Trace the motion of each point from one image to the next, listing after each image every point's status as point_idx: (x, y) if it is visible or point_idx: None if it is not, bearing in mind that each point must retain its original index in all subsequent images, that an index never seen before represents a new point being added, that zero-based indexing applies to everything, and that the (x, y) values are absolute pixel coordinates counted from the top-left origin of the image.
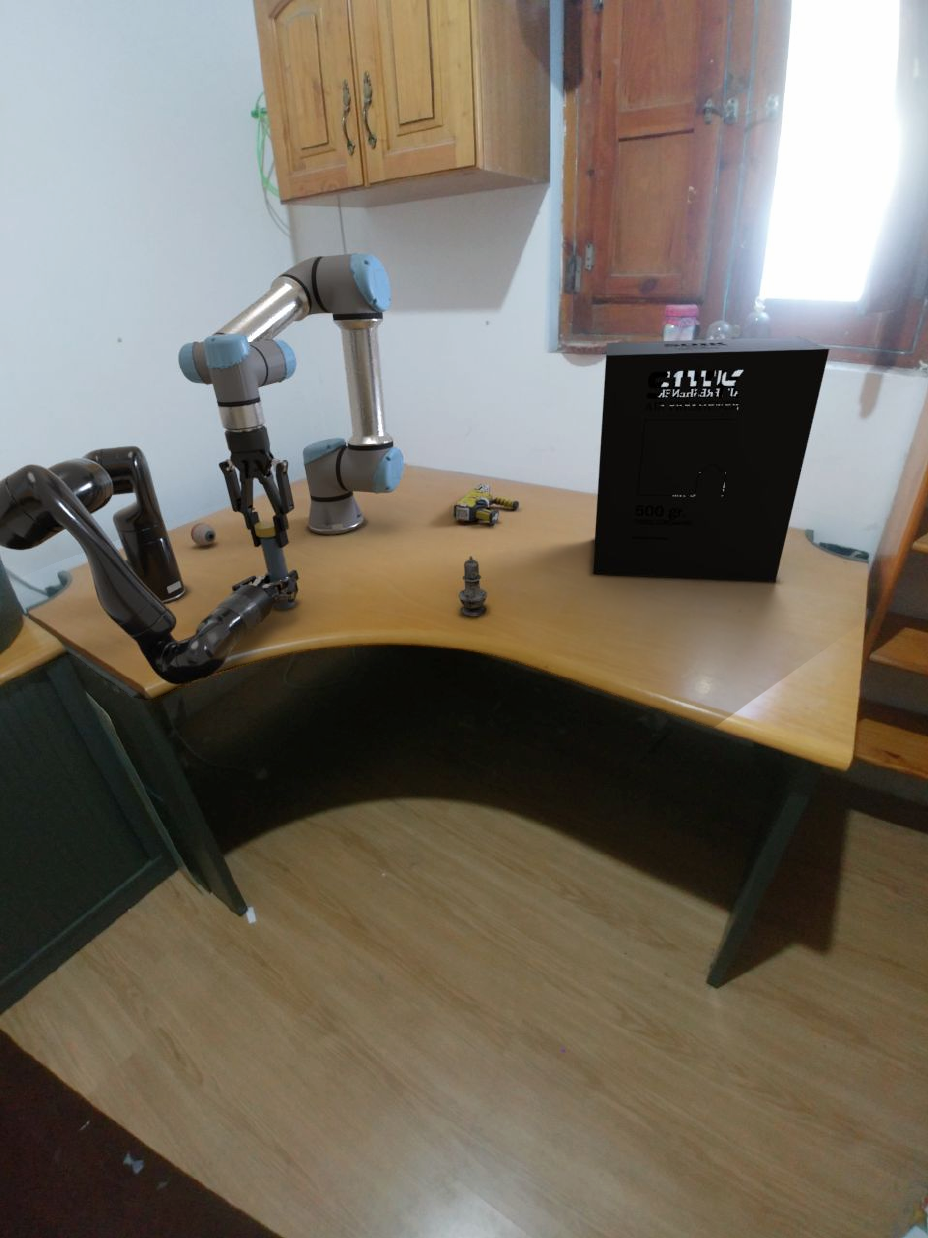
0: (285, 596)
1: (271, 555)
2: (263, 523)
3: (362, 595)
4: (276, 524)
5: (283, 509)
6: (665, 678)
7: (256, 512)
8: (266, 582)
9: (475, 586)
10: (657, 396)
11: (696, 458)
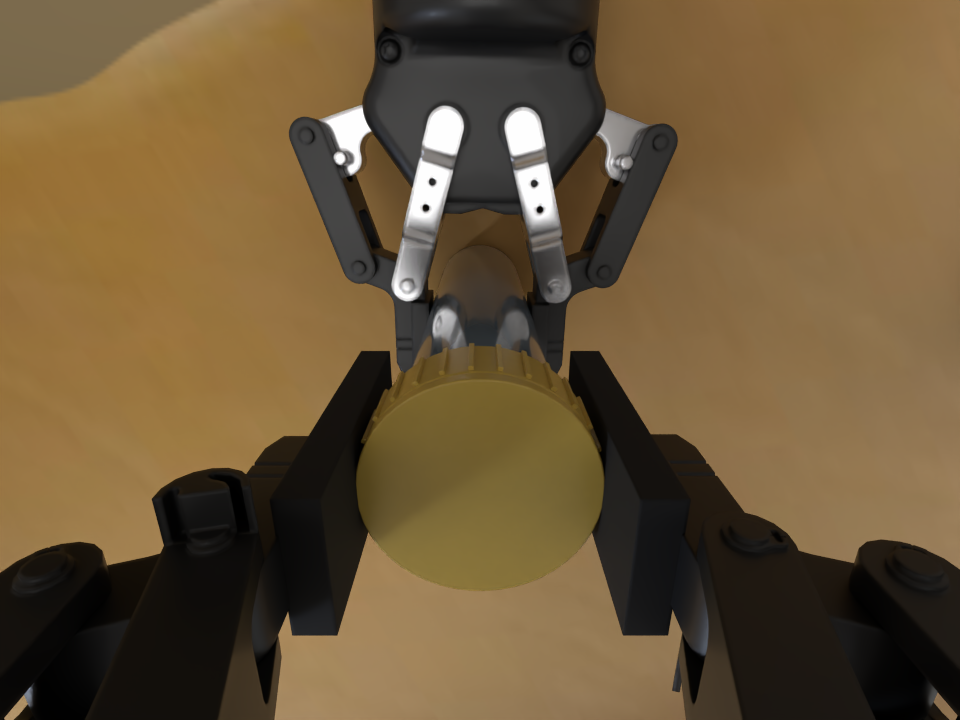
0: (331, 116)
1: (458, 315)
2: (525, 503)
3: (213, 397)
4: (313, 447)
5: (63, 587)
6: None
7: (625, 615)
8: (534, 279)
9: None
10: None
11: None
